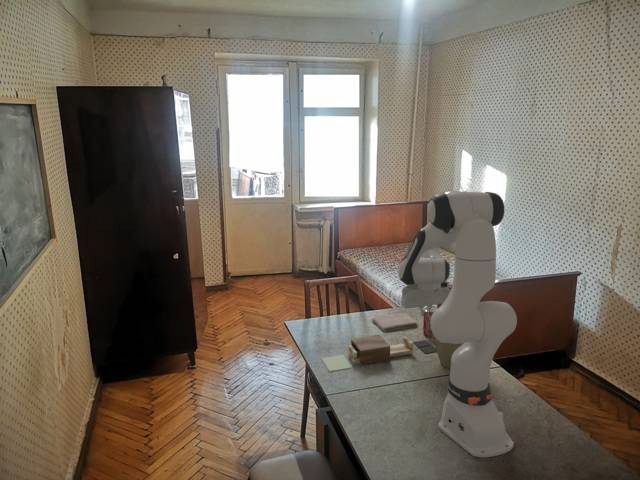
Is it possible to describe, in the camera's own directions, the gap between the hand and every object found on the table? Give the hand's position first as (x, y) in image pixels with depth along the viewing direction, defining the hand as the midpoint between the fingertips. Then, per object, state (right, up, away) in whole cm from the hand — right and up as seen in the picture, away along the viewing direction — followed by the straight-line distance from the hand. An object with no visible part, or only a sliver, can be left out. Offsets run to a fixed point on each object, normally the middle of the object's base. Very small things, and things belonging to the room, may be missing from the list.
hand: (424, 315), depth 184 cm
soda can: (+6, -11, +15) cm, 20 cm away
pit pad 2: (+2, -15, +2) cm, 15 cm away
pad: (-36, -17, -7) cm, 40 cm away
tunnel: (-22, -16, -3) cm, 28 cm away
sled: (-18, -16, -2) cm, 24 cm away
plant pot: (+8, -17, -8) cm, 21 cm away
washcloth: (-8, -9, +26) cm, 29 cm away
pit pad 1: (+1, -13, +7) cm, 15 cm away
